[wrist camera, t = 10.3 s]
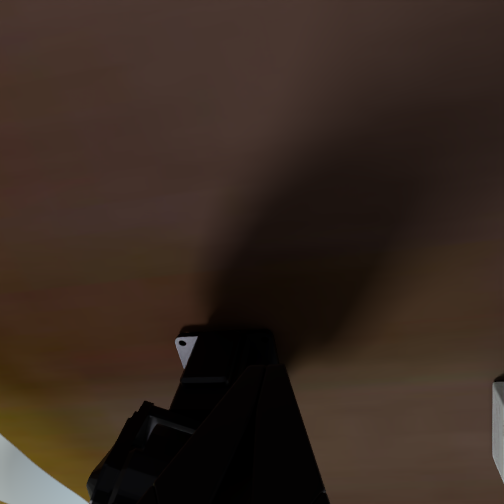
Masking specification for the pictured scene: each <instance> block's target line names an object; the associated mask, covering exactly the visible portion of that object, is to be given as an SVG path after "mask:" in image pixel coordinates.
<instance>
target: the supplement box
mask: <svg viewBox="0 0 504 504" xmlns="http://www.w3.org/2000/svg"><path fill="white" fill-rule="evenodd" d="M492 416H493V420H492V441H493V443H492V450H493V459H494V461H495V464H496V466H497V468H498V470H499V473H500V475H501V477H502V480H503V482H504V382H494V383H493V410H492Z"/></svg>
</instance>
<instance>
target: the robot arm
mask: <svg viewBox="0 0 504 504" xmlns="http://www.w3.org/2000/svg"><path fill="white" fill-rule="evenodd" d="M264 336H265V337H267V339H265V338H263V337H264ZM181 340H183V341H185V342H183V341H181ZM175 344H176V347H177V350H178V353H179V356H180V359H181V361H182V364H183V367H184V371H183V374H182V376H181V378H180V384H179V386H178V389H177V391H176V394H175V396H174V399H173V401H172V404H171V406H170V409H169V410H166V409H163V408H160V407H157V406H154V403H151V402H148V401H144V402H143V404H142V406H141V407H140V409H139V411H138V412H136V411H135V412H134V414H133V416H132V417H131V418H128V419H127V421H126V423H125V425H124V427H123V429H122V431H121V433H120V435H119V437H118V439H117V441H116V443H115V444H114V446H113V447H112V449H111V450H110V451H109V452H108V453H107V455H106V456H105V457H104V458H103V459H102V461H101V462H100V463H99V464H98V466H97V467H96V468H95V469H94V470H93V472H92V473H91V475H90V477H89V479H88V482H87V490H88V493H89V496H90V499H91V500H90V503H89V504H330V502H329V499H328V495H327V494H326V490H325V487H324V484H323V481H322V478H321V475H320V472H319V469H318V465H317V462H316V459H315V456H314V453H313V450H312V447H311V444H310V441H309V438H308V435H307V432H306V429H305V426H304V423H303V420H302V416H301V413H300V410H299V407H298V404H297V401H296V398H295V395H294V392H293V389H292V386H291V383H290V380H289V377H288V374H287V370H286V368H285V366H284V365H283V364H279V361H278V356H277V351H276V346H275V341H274V336H273V333H272V332H271V331H269V330H267V329H259V330H238V331H218V332H198V333H181V334H179V335H178V336H177V338H176V340H175Z"/></svg>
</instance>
